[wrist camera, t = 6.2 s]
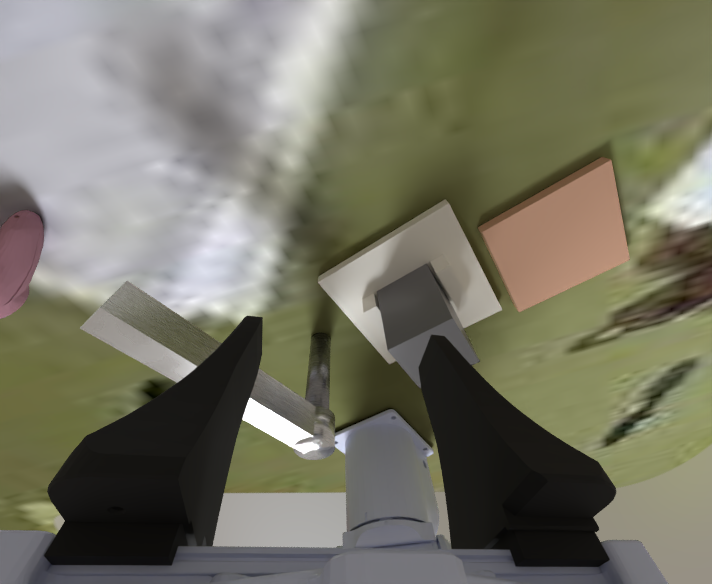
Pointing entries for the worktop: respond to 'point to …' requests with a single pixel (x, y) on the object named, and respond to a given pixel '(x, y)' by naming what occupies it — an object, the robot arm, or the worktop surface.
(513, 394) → the worktop surface
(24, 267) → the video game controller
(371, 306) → the socket
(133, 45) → the worktop surface
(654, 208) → the worktop surface
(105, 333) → the white square rod
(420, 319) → the plug
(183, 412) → the robot arm
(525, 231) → the tile
